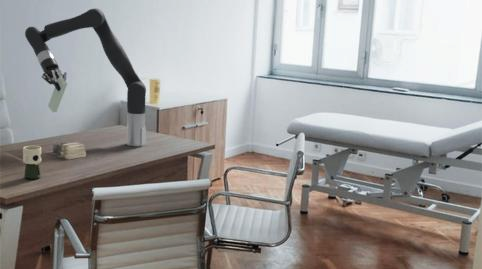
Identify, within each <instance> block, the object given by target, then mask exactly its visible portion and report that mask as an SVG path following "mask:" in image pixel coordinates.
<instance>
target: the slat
mask: <svg viewBox="0 0 482 269" xmlns="http://www.w3.org/2000/svg"><path fill="white" fill-rule="evenodd" d="M57 83H58V84H59V86H60V88H61V89H60V91H58V90H57V89H56V88H55V87H54V89H53V92H52V94H51V97H50V99H49V102H48V105H47V107H48V108H49V110H51V112H52V113H57V111H58V109H59V106H60V104H61V101H62V99H63V96H64V93H65V91H66V88H67V86H68V82H67V81H65V80H64V79H63V78H62V77H59V78H58V81H57Z"/></svg>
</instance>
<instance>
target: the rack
mask: <svg viewBox="0 0 482 269" xmlns="http://www.w3.org/2000/svg"><path fill="white" fill-rule="evenodd" d="M45 153H47V154H49V155H53V156H54V157H58V158H61V159H64V160H66V161H67V160H74V159H80V158H86V157H88V155H87V152H86V147H85V144H83V143H80V142H78V141H77V142H76V141H75V142H69V143H67V142H64V141H62V142H60V144H59V143H52V150H49V151H45Z"/></svg>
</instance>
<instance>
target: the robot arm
mask: <svg viewBox="0 0 482 269" xmlns="http://www.w3.org/2000/svg"><path fill="white" fill-rule="evenodd" d="M87 28H89V29H90V28H92V29H93V30H94V31H95V33H96V35H97V36H98V38H99V40H100V44H101V46H102V49H103V52H104V53H105V56H106V58H107V59H108V61H109V63H110V64H111V66H112V67H113V69H115V71H116V72H117V73H118V74H119V75H120V76H121V78H122V79H123V82H124V83H125V86H126V88H127V90H126V91H127V92H126V96H127V98H126V108H127V109H126V111H127V112H126V113H127V114H126V116H127V118H126V145H127V146H128V147H129V146H130V147H143V146H145V145H146V144H147V143H146V142H147V141H146V139H147V138H146V137H147V126H146V93H147V87H146V85H145V83H143V81H142V80H141V79H140V77H139V76H138V74H137V73H136V71H135V69H134V68H133V65H132V63H131V61H130V59H129V57H128V55H127V53H126V51H125V49H124V48H123V46H122V44H121V42H120V41H119V40H118V38H117V37H116V35H115V33H114V32H113V31H112V29H111V27H110V25H109V23H108V20H107V18H106V16H105V14H104V12H103V11H102V10H101V9H99V8H90V9H88V10H87V11H85V12H83V13H81V14H79V15H77V16H74V17H70V18H66V19H63V20H62V19H61V20H59V21H54V22H52V23H48V24H46V25H44V27H43V29H42V30H41V31H40V30H39V29H38V28H37V27H34V26H29V27H27V28H26V30H25V31H24V36H25V38H26V41H27V42H28V43H29V45H30V47H31V48H32V49H33V52H34V54H35V56H36V58H37V61H38V63H39V65H40V67H41V69H42V72H43V73H42V75H41V78H42V79H43V80H44V81H45V82H46V83H48V84H49V85H53V86H54V89H55V88H56V89H57V90H58V91H60V89H61V88H60V86H59V84H58V83H57V81H58V78H59V77H62V78H63V79H64V80H65V81H66V80H67V71H66V72H62V70H61V69H60V68H59V64H58V62H57V60H56V58H55V57H54V55H53V53H52V52H51V50H50V48H49V46H48V44H47V42H48V41H50V40H52V39H53V38H58V37H62V36H65V35H67V34H70V33H72V32H75V31H78V30H82V29H87ZM66 82H67V81H66Z"/></svg>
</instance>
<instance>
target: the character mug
mask: <svg viewBox="0 0 482 269" xmlns="http://www.w3.org/2000/svg"><path fill="white" fill-rule="evenodd" d="M22 162H23V163H24V164H25V168H24V178H28V179H30V180H31V179H32V180H35V179H39V178H41V169H40V165H39V164H40V163H42V147H41V145H27V146H23V148H22Z"/></svg>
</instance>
